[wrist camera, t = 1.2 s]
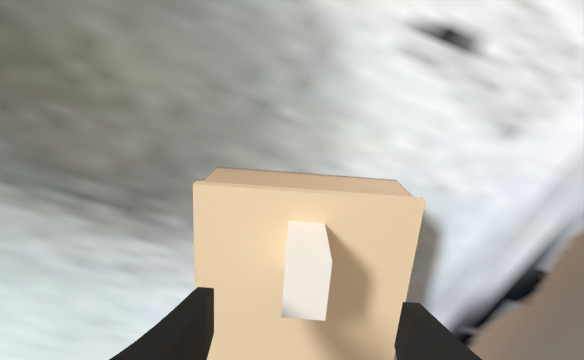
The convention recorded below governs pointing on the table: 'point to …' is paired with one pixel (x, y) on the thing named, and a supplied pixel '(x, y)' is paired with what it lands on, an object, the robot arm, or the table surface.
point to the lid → (303, 270)
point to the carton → (307, 181)
